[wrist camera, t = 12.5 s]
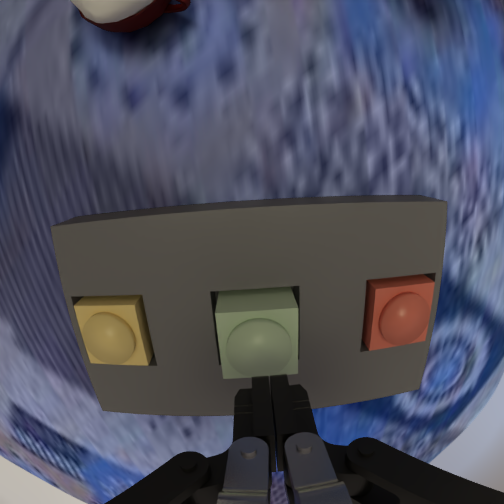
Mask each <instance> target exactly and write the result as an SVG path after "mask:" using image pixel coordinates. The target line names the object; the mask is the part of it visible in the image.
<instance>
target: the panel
mask: <svg viewBox="0 0 504 504" xmlns="http://www.w3.org/2000/svg"><path fill="white" fill-rule="evenodd" d="M446 218H447V201H443V200H439V199H435V198H430V197H426V196H422V195H370V196H330V197H304V198H282V199H264V200H247V201H232V202H218V203H205V204H193V205H181V206H170V207H159V208H149V209H139V210H129V211H120V212H111V213H103V214H94V215H86V216H78V217H74V218H72V219H69V220H66V221H64V222H61V223H59V224H56V225H53V226H51V232H52V238H53V244H54V249H55V255H56V260H57V265H58V270H59V274H60V279H61V283H62V287H63V292H64V296H65V300H66V304H67V307H68V311H69V315H70V318H71V322H72V325H73V329H74V332H75V336H76V339H77V342H78V345H79V348H80V351H81V354H82V357H83V360H84V363H85V366H86V369H87V372H88V375H89V377H90V380H91V383H92V385H93V388H94V391H95V393H96V396H97V398H98V401H99V403H100V406H101V408H102V410H103V411H110V412H121V413H133V414H148V415H171V416H226V415H234V398H235V395H236V394H237V392H238V391H239V389H247V388H252V378H233V379H223V373H222V365H221V357H220V350H219V342H218V334H217V325H216V317H215V311H216V305H217V299H218V294H219V291H229V290H245V289H260V288H275V287H288V286H290V287H291V290H292V292H293V295H294V298H295V300H296V303H297V306H298V374H290V375H287V377H288V382H289V385H297V384H300V385H301V386H302V387H303V388H304V389H305V390H306V391H307V393H308V397H309V401H310V405H311V409H315V408H323V407H330V406H337V405H343V404H349V403H355V402H361V401H366V400H371V399H376V398H381V397H386V396H391V395H395V394H400V393H404V392H408V391H413V390H417V389H419V387H420V383H421V380H422V376H423V372H424V368H425V364H426V359H427V355H428V351H429V346H430V342H431V337H432V332H433V327H434V321H435V316H436V310H437V304H438V297H439V291H440V283H441V276H442V267H443V258H444V247H445V235H446ZM418 274H424V275H425V276H427V277H428V278H430V279H431V280H432V281H434V282H435V284H434V292H433V299H432V305H431V312H430V319H429V323H428V329H427V334H426V339H425V341H421V342H416V343H411V344H406V345H401V346H395V347H389V348H383V349H377V350H371V351H369V349H368V348H367V346H366V345H365V343H364V342H363V340H362V329H363V319H364V307H365V293H366V280H370V279H380V278H390V277H400V276H409V275H418ZM114 295H142V296H143V301H144V307H145V312H146V317H147V322H148V326H149V331H150V336H151V340H152V345H153V349H154V354H153V356H152V358H151V361H150V363H149V365H148V366H144V365H112V364H96V363H90V360H89V357H88V354H87V350H86V347H85V344H84V341H83V338H82V334H81V331H80V327H79V324H78V320H77V317H76V313H75V309H74V305H75V304H76V303H77V302H78V301H79V300H80V299H81V298H83V297H84V296H114ZM269 385H270V376H269ZM270 394H271V392H270Z"/></svg>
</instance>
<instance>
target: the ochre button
mask: <svg viewBox="0 0 504 504" xmlns="http://www.w3.org/2000/svg"><path fill="white" fill-rule="evenodd" d="M74 309H75V313H76V317H77V320H78V324H79V327H80V331H81V334H82V338H83V341H84V344H85V347H86V350H87V354H88V357H89V360H90V363H96V364H112V365H144V366H148V365H149V363H150V361H151V358H152V356H153V354H154V349H153V345H152V340H151V336H150V331H149V326H148V322H147V317H146V312H145V307H144V301H143V296H142V295H114V296H84V297H83V298H81V299H80V300H79V301H78V302H77V303H76V304H75V305H74Z"/></svg>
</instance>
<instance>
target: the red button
mask: <svg viewBox="0 0 504 504" xmlns="http://www.w3.org/2000/svg"><path fill="white" fill-rule="evenodd" d="M434 284H435V282H434V281H432V280H431V279H430V278H428V277H427V276H425V275H424V274H418V275H409V276H400V277H390V278H380V279H370V280H366V293H365V307H364V319H363V329H362V340H363V342H364V343H365V345H366V346H367V348H368V349H369V351H371V350H377V349H383V348H389V347H395V346H401V345H406V344H411V343H416V342H421V341H425V339H426V334H427V329H428V323H429V319H430V312H431V305H432V299H433V292H434Z"/></svg>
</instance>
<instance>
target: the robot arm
mask: <svg viewBox="0 0 504 504" xmlns="http://www.w3.org/2000/svg"><path fill="white" fill-rule="evenodd" d="M270 392H271V394H270ZM275 449H276V452H275ZM276 459H277V468H278V471H284V486H285V492H286V496H287V500H288V504H504V493H503V492H500V491H497V490H494V489H492V488H489V487H486V486H483V485H480V484H478V483H475V482H472V481H469V480H467V479H464V478H462V477H459V476H457V475H454V474H452V473H449V472H447V471H444V470H442V469H440V468H437V467H435V466H433V465H430V464H428V463H426V462H423V461H421V460H419V459H417V458H415V457H412V456H410V455H408V454H406V453H404V452H402V451H399V450H397V449H395V448H393V447H391V446H389V445H387V444H385V443H383V442H381V441H379V440H377V439H374V438H369V437H363V438H358V439H356V440H354V441H352V442H351V443H350V444H349V445H348V446H343V445H333V444H330V443H327V442H325V441H324V440H323V439H321V438H320V436H319V435H318V432H317V429H316V425H315V421H314V417H313V413H312V409H311V405H310V401H309V397H308V393H307V391H306V390H305V389H304V388H303V387H302V386H301V385H300V384H297V385H289V382H288V377H287V374H280V375H270V385H269V376H254V377H252V388H247V389H239V391H238V392H237V394H236V395H235V398H234V427H233V442H232V444H231V446H230V447H229V449H228V450H226V451H225V452H223V453H221V454H219V455H216V456H212V457H208V458H206V457H205V456H203V455H202V454H200V453H197V452H191V451H189V452H182V453H180V454H177V455H176V456H174V457H173V458H172V459H170V460H169V461H167V462H166V463H165V464H163V465H162V466H161V467H159V468H158V469H156V470H155V471H153V472H152V473H151V474H149V475H148V476H146V477H145V478H143V479H142V480H140V481H139V482H137V483H136V484H134V485H133V486H131V487H130V488H128V489H127V490H125V491H124V492H122V493H121V494H119V495H118V496H116V497H114V498H113V499H111V500H110V501H108V502H107V503H105V504H270V498H271V485H272V472H276Z"/></svg>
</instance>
